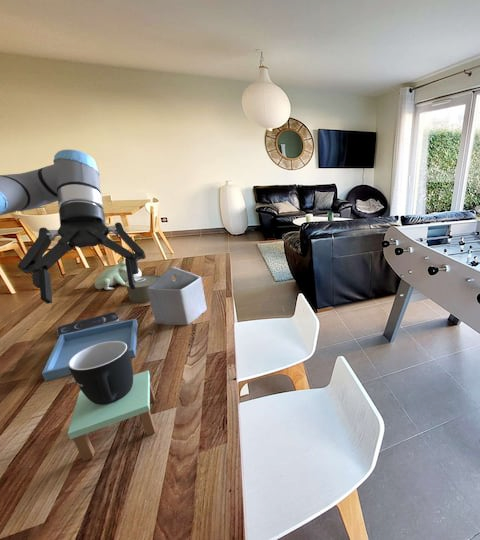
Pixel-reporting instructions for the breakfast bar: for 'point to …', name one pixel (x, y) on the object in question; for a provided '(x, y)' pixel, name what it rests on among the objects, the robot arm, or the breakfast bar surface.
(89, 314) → the breakfast bar surface
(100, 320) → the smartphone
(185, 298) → the planter
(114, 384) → the mug
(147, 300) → the can
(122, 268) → the figurine
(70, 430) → the stool
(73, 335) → the tray
